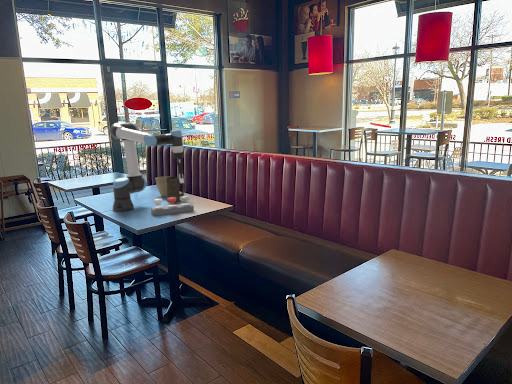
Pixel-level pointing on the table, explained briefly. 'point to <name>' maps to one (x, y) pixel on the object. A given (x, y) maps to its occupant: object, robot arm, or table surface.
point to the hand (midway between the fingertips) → (181, 181)
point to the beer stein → (174, 188)
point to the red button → (171, 200)
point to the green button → (185, 198)
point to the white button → (158, 201)
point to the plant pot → (162, 185)
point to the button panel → (172, 209)
